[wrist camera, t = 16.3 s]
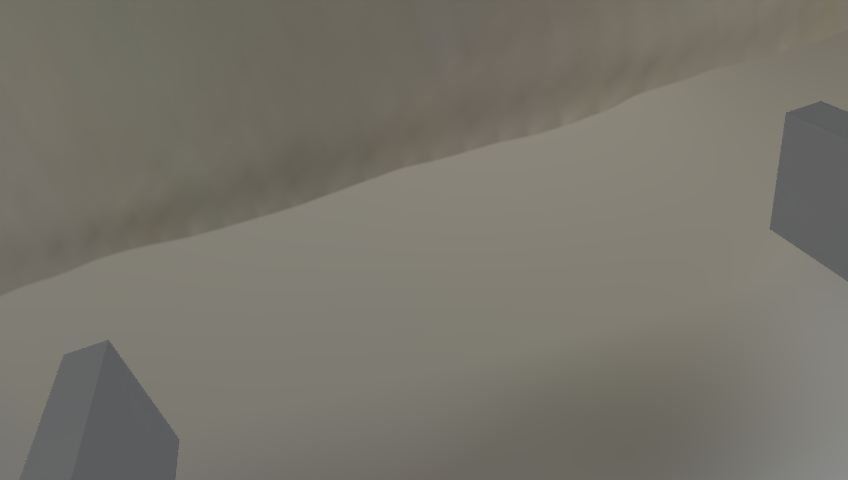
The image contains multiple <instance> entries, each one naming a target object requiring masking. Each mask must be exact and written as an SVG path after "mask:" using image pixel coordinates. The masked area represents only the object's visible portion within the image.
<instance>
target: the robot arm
mask: <svg viewBox="0 0 848 480" xmlns="http://www.w3.org/2000/svg"><path fill="white" fill-rule="evenodd" d="M770 229H771V230H773V231H774V232H775V233H777V234H779V235H780V236H781V237H783V238H784V239H786V240H787V241H789V242H790V243H792V244H793V245H795V246H796V247H798V248H799V249H801V250H802V251H803V252H805V253H807V254H808V255H810V256H811V257H812V258H814V259H816V260H817V261H818V262H820V263H821V264H823V265H824V266H826V267H827V268H829V269H830V270H832V271H833V272H835V273H836V274H838V275H839V276H841V277H842V278H844V279H845V280H847V281H848V112H847V111H844V110H841V109H839V108H837V107H834V106H832V105H829V104H827V103H824V102H822V101H820V102H817V103H814V104H811V105H808V106H805V107H802V108H799V109H796V110H793V111H790V112H787V113H786V117H785V124H784V131H783V138H782V146H781V153H780V160H779V167H778V174H777V181H776V188H775V196H774V203H773V210H772V217H771V224H770ZM178 446H179V438H178V437H177V435H176V434H175V432H174V431H173V430H172V428H171V427H170V425H169V424H168V423H167V421H166V420H165V418H164V417H163V416H162V414H161V413H160V412H159V410H158V409H157V407H156V406H155V404H154V403H153V402H152V400H151V399H150V397H149V396H148V395H147V393H146V392H145V390H144V389H143V388H142V386H141V385H140V383H139V382H138V381H137V379H136V378H135V376H134V375H133V374H132V372H131V371H130V369H129V368H128V367H127V365H126V364H125V362H124V361H123V360H122V358H121V357H120V355H119V354H118V353H117V351H116V350H115V348H114V347H113V346H112V344H111V343H110V341H109V340H107V341H104V342H101V343H98V344H95V345H92V346H89V347H86V348H83V349H80V350H77V351H74V352H71V353H68V354H65V355H63V358H62V361H61V364H60V367H59V370H58V373H57V375H56V378H55V381H54V384H53V387H52V389H51V392H50V395H49V399H48V401H47V404H46V406H45V409H44V412H43V415H42V418H41V421H40V423H39V426H38V429H37V432H36V435H35V438H34V440H33V443H32V446H31V449H30V452H29V454H28V457H27V460H26V463H25V466H24V469H23V472H22V474H21V477H20V480H175V477H176V467H177V456H178Z"/></svg>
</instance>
